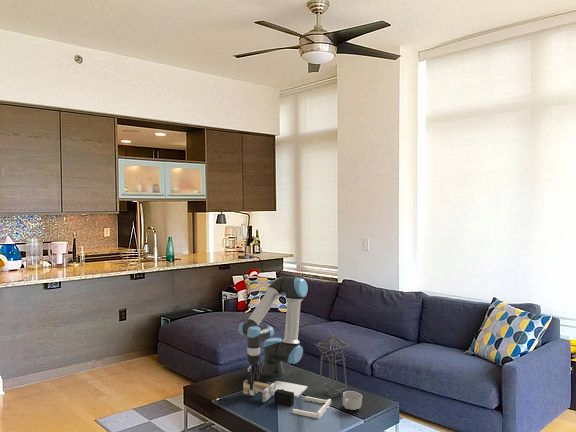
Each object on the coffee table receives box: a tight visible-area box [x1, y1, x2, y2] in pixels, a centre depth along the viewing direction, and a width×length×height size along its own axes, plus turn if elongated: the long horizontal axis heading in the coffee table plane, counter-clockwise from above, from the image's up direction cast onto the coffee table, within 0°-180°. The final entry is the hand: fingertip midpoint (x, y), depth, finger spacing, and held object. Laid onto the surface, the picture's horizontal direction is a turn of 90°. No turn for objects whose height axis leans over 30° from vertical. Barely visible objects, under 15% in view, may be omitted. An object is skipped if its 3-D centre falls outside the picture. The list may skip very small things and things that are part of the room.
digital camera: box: [273, 389, 295, 408], centre depth 273 cm, size 10×5×7 cm, turn 64°
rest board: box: [273, 380, 308, 399], centre depth 293 cm, size 16×21×1 cm
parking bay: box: [292, 395, 332, 419], centre depth 267 cm, size 19×15×3 cm
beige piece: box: [242, 379, 276, 403], centre depth 280 cm, size 14×17×7 cm
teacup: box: [342, 390, 363, 411], centre depth 266 cm, size 14×11×8 cm
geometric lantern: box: [315, 335, 351, 397], centre depth 286 cm, size 16×16×35 cm
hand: (253, 393), depth 281 cm, fingers closed on beige piece, 3 cm apart
